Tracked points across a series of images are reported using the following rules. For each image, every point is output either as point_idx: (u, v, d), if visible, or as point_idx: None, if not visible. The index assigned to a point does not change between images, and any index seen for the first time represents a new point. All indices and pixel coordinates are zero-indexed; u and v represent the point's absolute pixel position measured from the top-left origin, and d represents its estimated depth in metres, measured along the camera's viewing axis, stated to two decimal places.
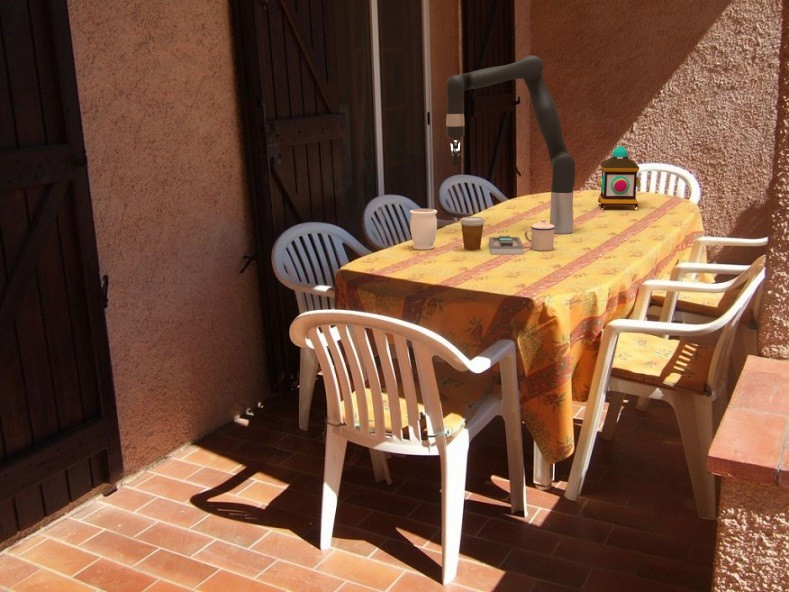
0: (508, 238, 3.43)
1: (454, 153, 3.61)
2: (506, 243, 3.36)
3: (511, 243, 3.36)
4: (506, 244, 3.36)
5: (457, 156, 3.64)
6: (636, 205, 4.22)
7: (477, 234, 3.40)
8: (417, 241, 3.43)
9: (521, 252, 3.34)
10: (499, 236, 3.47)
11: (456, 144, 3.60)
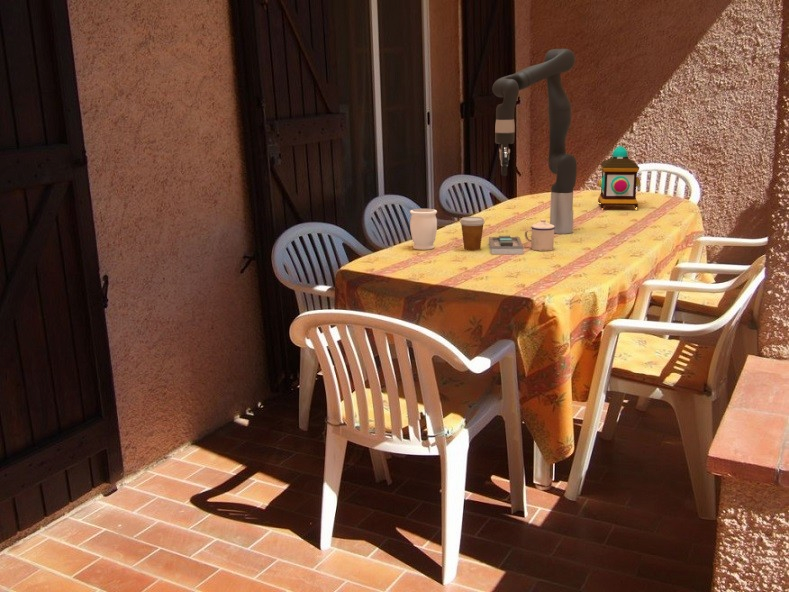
0: (508, 238, 3.43)
1: (503, 163, 3.45)
2: (506, 243, 3.36)
3: (511, 243, 3.36)
4: (506, 244, 3.36)
5: (506, 166, 3.47)
6: (636, 205, 4.22)
7: (477, 234, 3.40)
8: (417, 241, 3.43)
9: (521, 252, 3.34)
10: (499, 236, 3.47)
11: (506, 156, 3.42)
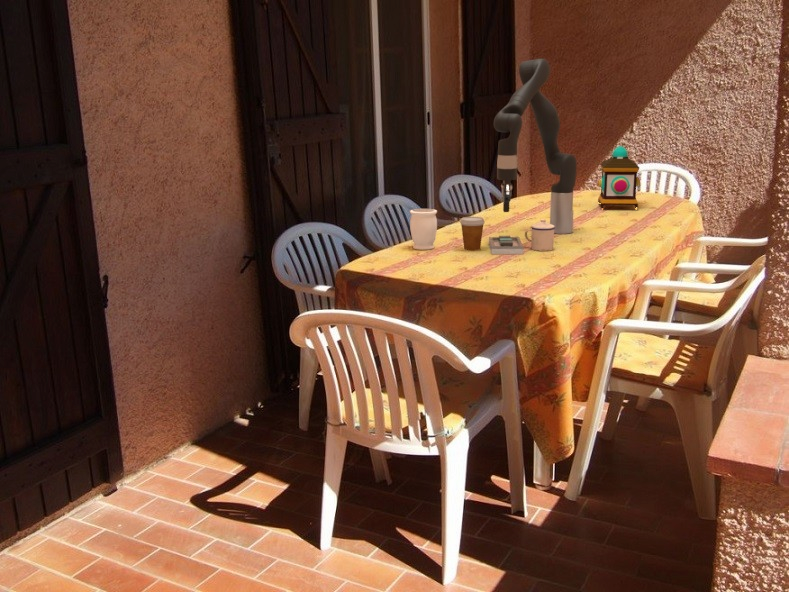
0: (508, 238, 3.43)
1: (505, 199, 3.35)
2: (506, 243, 3.36)
3: (511, 243, 3.36)
4: (506, 244, 3.36)
5: (508, 202, 3.38)
6: (636, 205, 4.22)
7: (477, 234, 3.40)
8: (417, 241, 3.43)
9: (521, 252, 3.34)
10: (499, 236, 3.47)
11: (508, 194, 3.32)
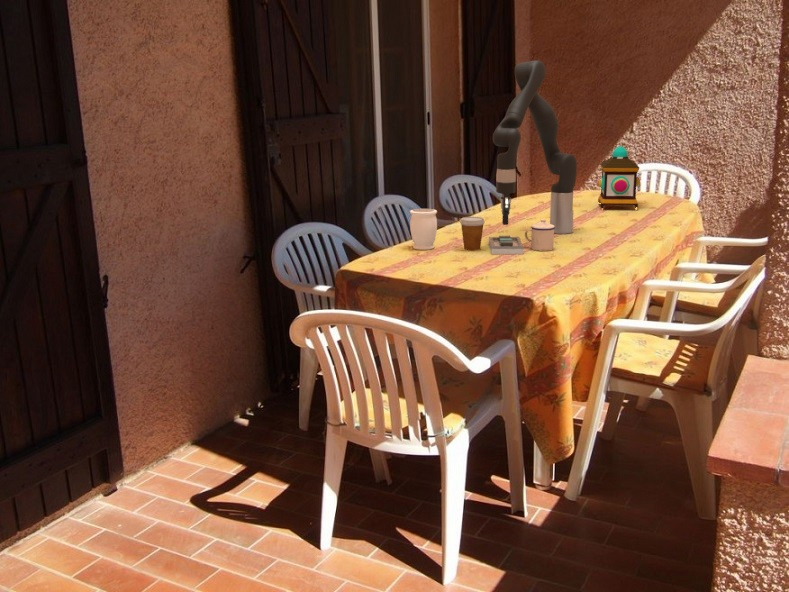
0: (508, 238, 3.43)
1: (504, 212, 3.41)
2: (506, 243, 3.36)
3: (511, 243, 3.36)
4: (506, 244, 3.36)
5: (507, 215, 3.43)
6: (636, 205, 4.22)
7: (477, 234, 3.40)
8: (417, 241, 3.43)
9: (521, 252, 3.34)
10: (499, 236, 3.47)
11: (507, 207, 3.38)
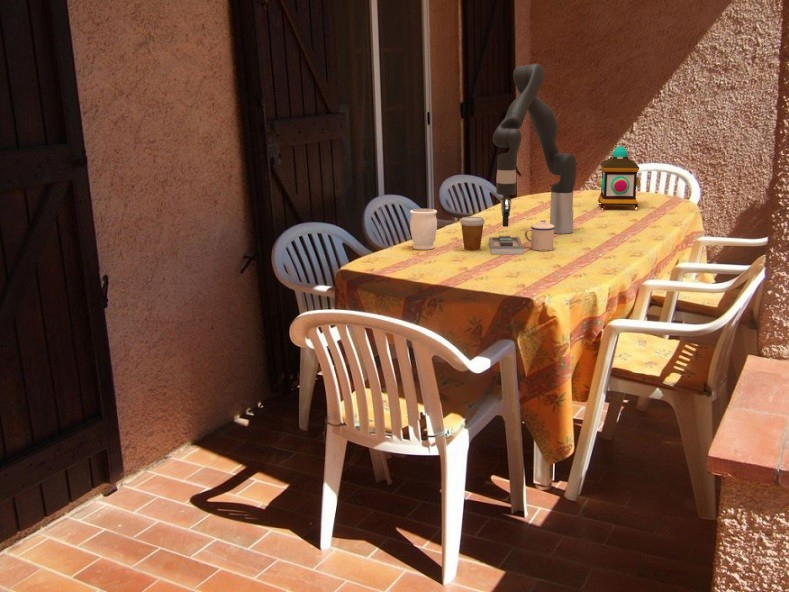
0: (508, 238, 3.43)
1: (505, 214, 3.36)
2: (506, 243, 3.36)
3: (511, 243, 3.36)
4: (506, 244, 3.36)
5: (507, 217, 3.38)
6: (636, 205, 4.22)
7: (477, 234, 3.40)
8: (417, 241, 3.43)
9: (521, 252, 3.34)
10: (499, 236, 3.47)
11: (507, 209, 3.33)
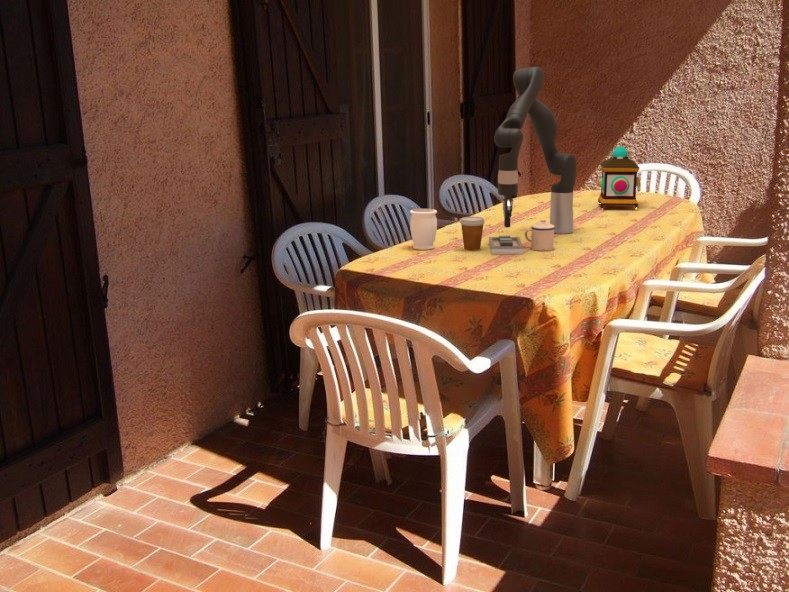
0: (508, 238, 3.43)
1: (506, 215, 3.32)
2: (506, 243, 3.36)
3: (511, 243, 3.36)
4: (506, 244, 3.36)
5: (509, 218, 3.35)
6: (636, 205, 4.22)
7: (477, 234, 3.40)
8: (417, 241, 3.43)
9: (521, 252, 3.34)
10: (499, 236, 3.47)
11: (509, 209, 3.29)
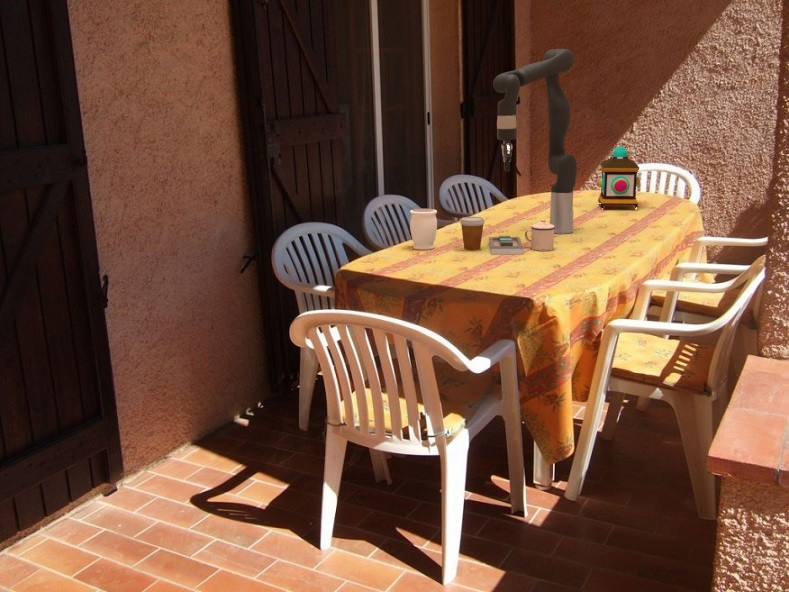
0: (508, 238, 3.43)
1: (506, 159, 3.43)
2: (506, 243, 3.36)
3: (511, 243, 3.36)
4: (506, 244, 3.36)
5: (509, 162, 3.46)
6: (636, 205, 4.22)
7: (477, 234, 3.40)
8: (417, 241, 3.43)
9: (521, 252, 3.34)
10: (499, 236, 3.47)
11: (509, 153, 3.40)
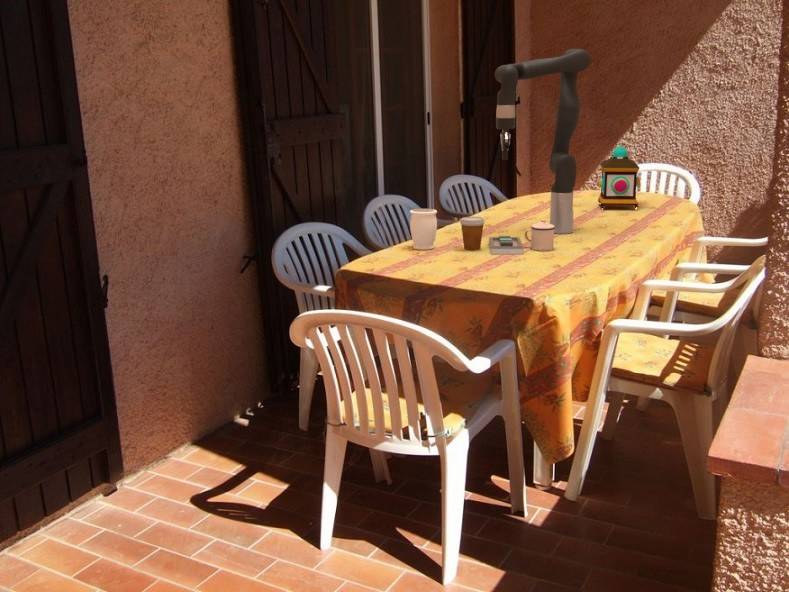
0: (508, 238, 3.43)
1: (504, 147, 3.54)
2: (506, 243, 3.36)
3: (511, 243, 3.36)
4: (506, 244, 3.36)
5: (507, 150, 3.56)
6: (636, 205, 4.22)
7: (477, 234, 3.40)
8: (417, 241, 3.43)
9: (521, 252, 3.34)
10: (499, 236, 3.47)
11: (507, 142, 3.51)
